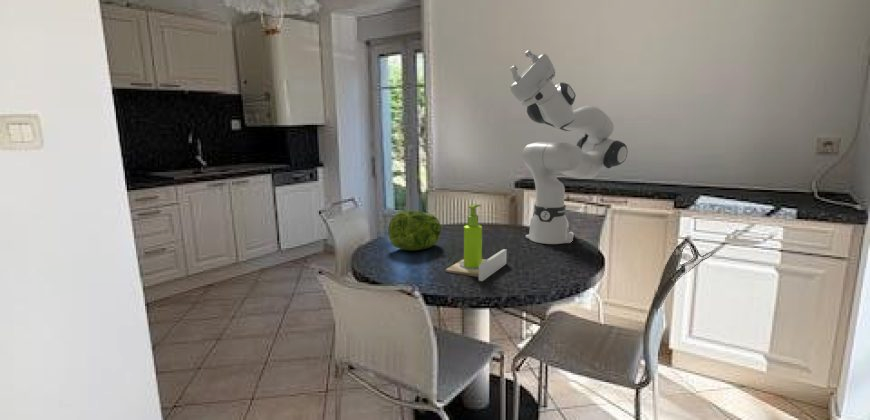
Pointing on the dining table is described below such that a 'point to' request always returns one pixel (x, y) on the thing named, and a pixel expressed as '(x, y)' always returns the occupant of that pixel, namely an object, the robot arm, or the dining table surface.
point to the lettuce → (414, 230)
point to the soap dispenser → (472, 240)
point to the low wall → (492, 264)
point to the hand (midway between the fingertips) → (519, 59)
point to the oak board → (463, 269)
